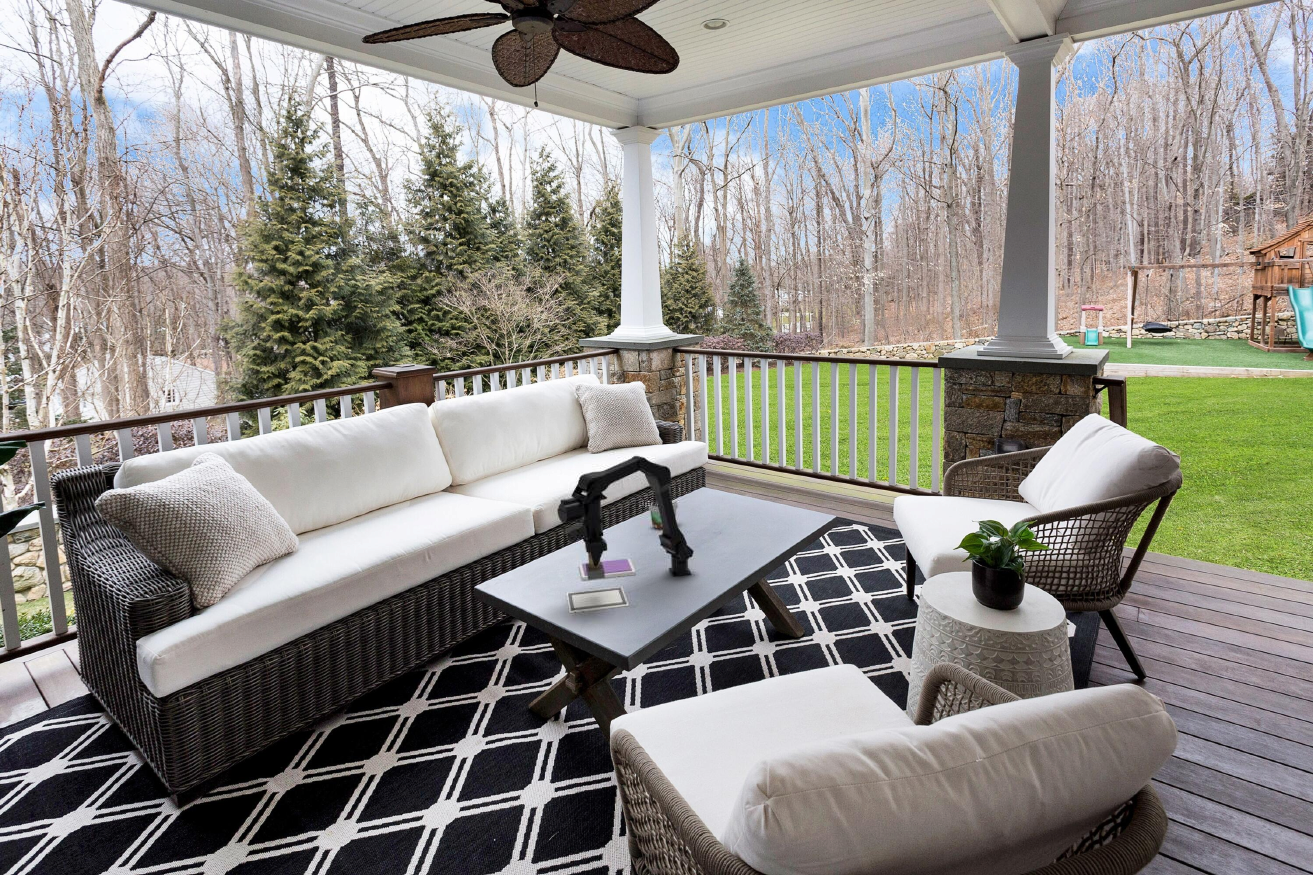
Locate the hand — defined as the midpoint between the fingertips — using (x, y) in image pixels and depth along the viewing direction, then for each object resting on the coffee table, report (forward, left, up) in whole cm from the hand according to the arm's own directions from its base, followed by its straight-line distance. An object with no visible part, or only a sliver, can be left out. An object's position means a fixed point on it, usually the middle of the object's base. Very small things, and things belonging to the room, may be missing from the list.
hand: (594, 563), depth 213 cm
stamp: (0, 0, -4) cm, 4 cm away
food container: (-59, +35, -12) cm, 70 cm away
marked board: (0, 0, -12) cm, 12 cm away
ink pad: (-22, +6, -12) cm, 26 cm away
